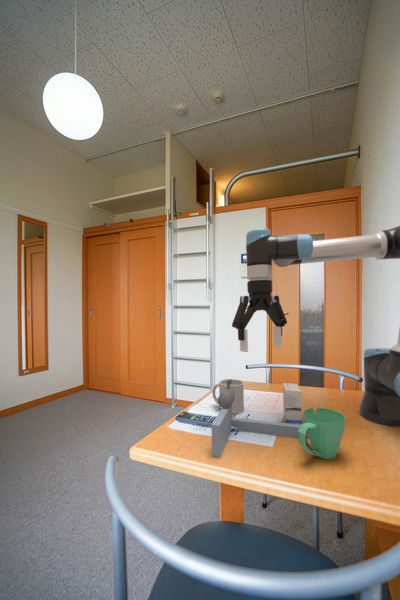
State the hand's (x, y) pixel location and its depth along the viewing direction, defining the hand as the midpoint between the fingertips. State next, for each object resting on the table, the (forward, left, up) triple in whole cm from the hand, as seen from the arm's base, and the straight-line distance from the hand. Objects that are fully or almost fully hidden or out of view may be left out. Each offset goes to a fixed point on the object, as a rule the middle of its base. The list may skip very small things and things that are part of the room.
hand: (261, 349), depth 85 cm
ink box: (-9, -8, -25) cm, 28 cm away
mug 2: (-15, +11, -25) cm, 31 cm away
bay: (-3, +8, -25) cm, 26 cm away
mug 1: (+13, -15, -25) cm, 32 cm away
